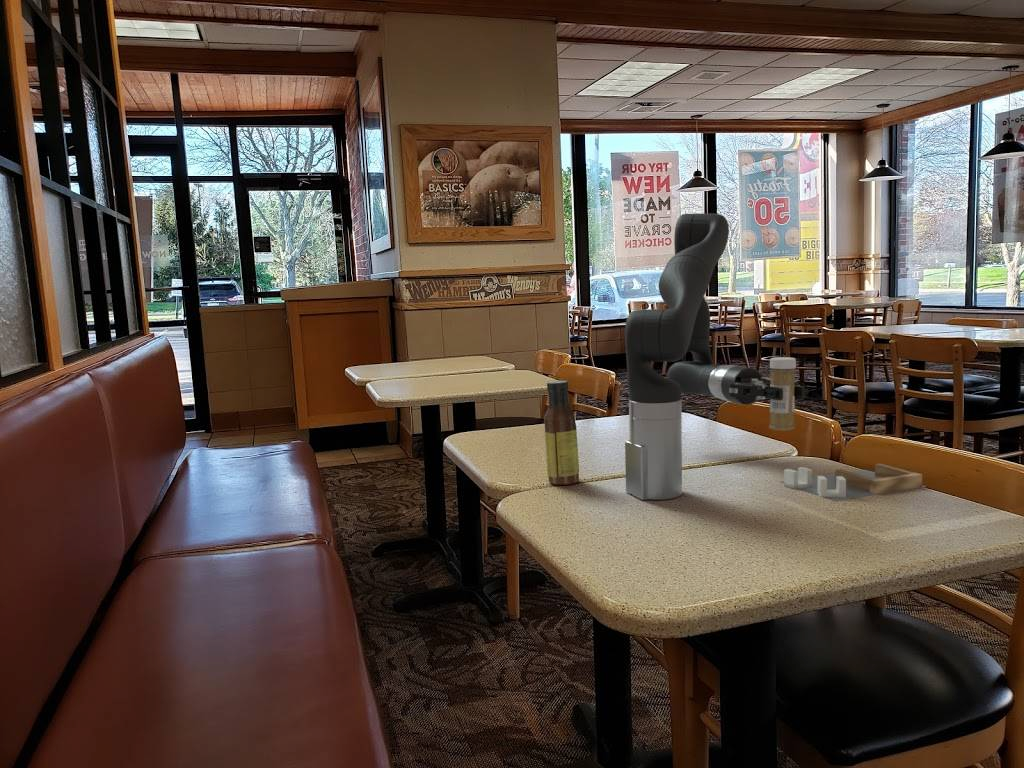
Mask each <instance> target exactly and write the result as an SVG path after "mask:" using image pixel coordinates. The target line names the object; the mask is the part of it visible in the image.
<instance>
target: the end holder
mask: <svg viewBox="0 0 1024 768" xmlns="http://www.w3.org/2000/svg"><path fill="white" fill-rule="evenodd" d="M874 472H875V476H877V477H881V478H879V479H874V478H870V477H867V476H863V475H860V474H856V473H853V472H850V471H849V470H846V469H841V468H840V469H839V468H838V469H837V468H836V469H835V471H834V474H835V482H836V476H843V477H844V478H845V479H846V485H848V486H851V487H854V488H857V489H861V490H864V491H867V492H870V493H873V494H878V495H880V494H879V493H885V492H891V493H893V492H892V491H898V490H904V491H906V490H905V489H911V488H917V487H922V485H923V474H922V473H918V472H914V471H911V470H908V469H907V470H906V469H903V468H900V467H895V466H891V465H888V464H884V463H874ZM917 489H918V488H917ZM911 490H912V489H911ZM898 492H899V491H898ZM885 494H886V493H885Z"/></svg>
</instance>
